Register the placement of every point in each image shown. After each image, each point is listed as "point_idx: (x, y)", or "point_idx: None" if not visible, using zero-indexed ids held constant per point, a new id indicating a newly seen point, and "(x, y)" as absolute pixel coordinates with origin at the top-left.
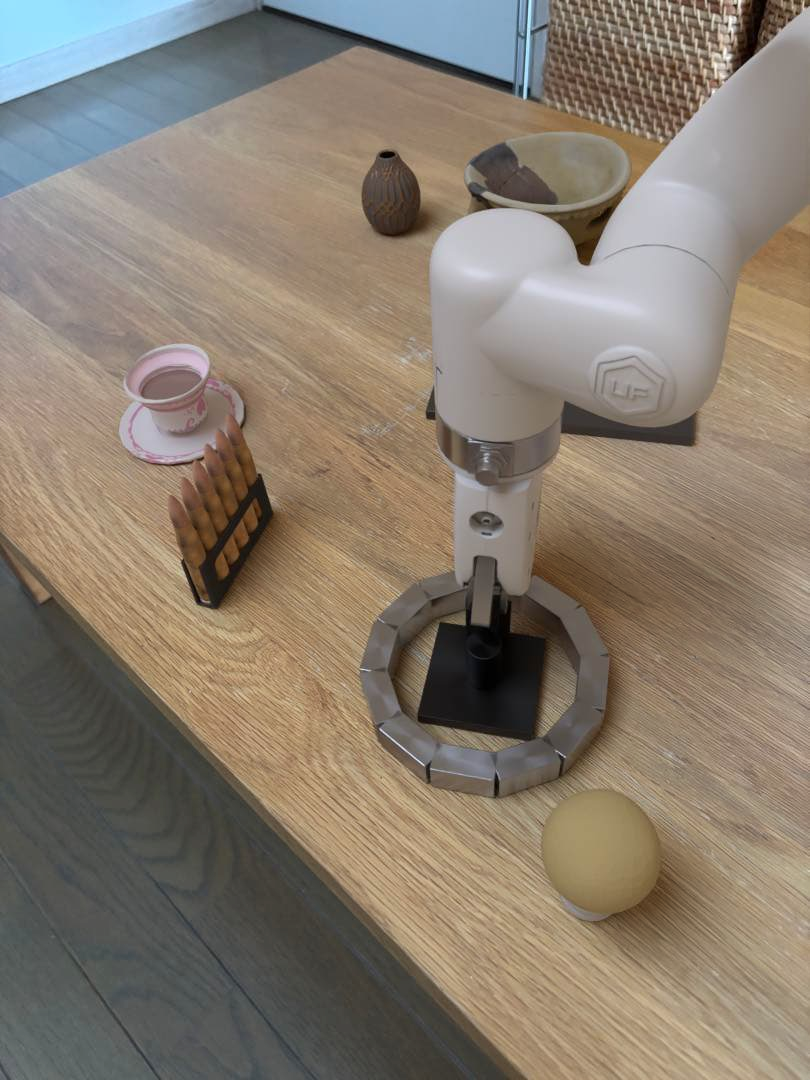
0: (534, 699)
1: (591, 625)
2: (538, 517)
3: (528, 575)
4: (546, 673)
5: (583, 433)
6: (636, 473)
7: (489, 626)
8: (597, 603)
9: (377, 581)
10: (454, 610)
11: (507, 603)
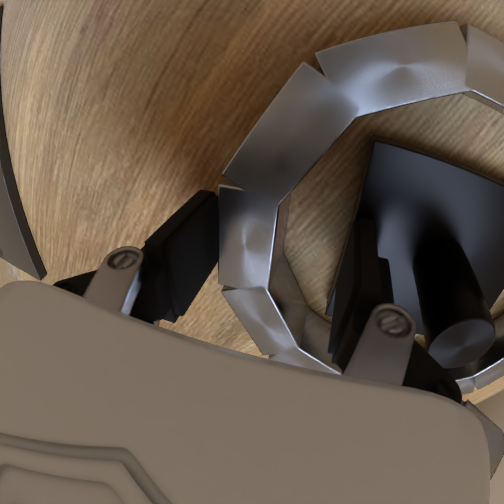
0: (500, 190)
1: (378, 39)
2: (73, 441)
3: (464, 501)
4: (434, 143)
5: (1, 119)
6: (25, 41)
7: (498, 427)
8: (253, 25)
9: (248, 349)
10: (295, 285)
11: (378, 310)
